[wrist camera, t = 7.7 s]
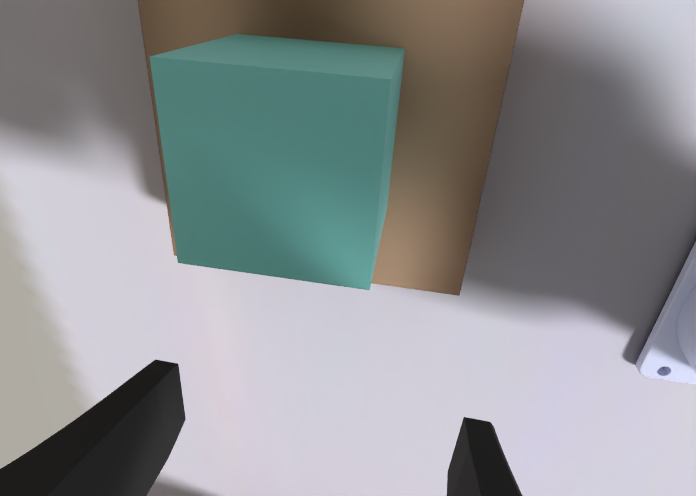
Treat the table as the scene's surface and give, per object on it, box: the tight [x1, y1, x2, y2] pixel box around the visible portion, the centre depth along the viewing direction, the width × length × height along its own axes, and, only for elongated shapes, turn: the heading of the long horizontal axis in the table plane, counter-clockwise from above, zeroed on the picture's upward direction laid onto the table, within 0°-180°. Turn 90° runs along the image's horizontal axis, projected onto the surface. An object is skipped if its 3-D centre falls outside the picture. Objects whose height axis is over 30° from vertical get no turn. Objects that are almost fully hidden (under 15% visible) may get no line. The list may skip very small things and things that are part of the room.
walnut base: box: [138, 0, 524, 295], centre depth 16 cm, size 11×11×3 cm
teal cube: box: [150, 34, 405, 290], centre depth 13 cm, size 5×5×5 cm
